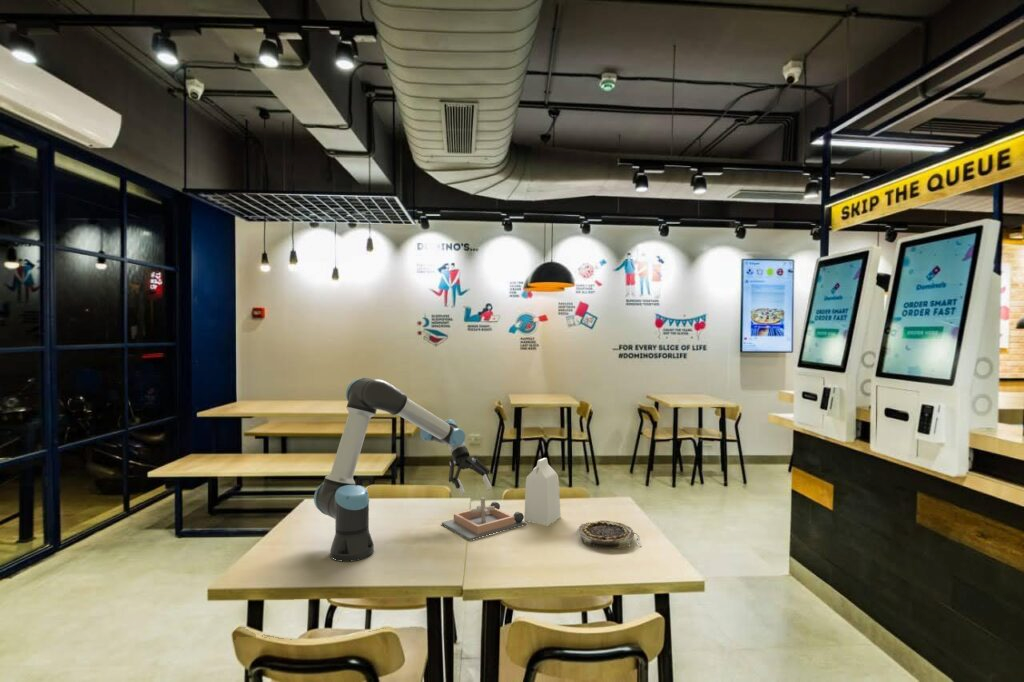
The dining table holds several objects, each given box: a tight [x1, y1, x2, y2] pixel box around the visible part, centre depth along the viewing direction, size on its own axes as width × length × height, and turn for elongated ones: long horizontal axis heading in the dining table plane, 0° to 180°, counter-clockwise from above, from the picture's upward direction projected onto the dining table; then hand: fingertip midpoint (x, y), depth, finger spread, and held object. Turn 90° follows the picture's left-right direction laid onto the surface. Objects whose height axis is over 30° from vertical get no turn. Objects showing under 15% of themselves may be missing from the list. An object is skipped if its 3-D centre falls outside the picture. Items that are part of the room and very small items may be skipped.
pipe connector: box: [470, 497, 495, 523], centre depth 213 cm, size 10×10×10 cm
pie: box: [577, 520, 642, 549], centre depth 197 cm, size 28×27×5 cm
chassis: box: [441, 501, 527, 541], centre depth 212 cm, size 28×22×5 cm
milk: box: [523, 457, 562, 527], centre depth 219 cm, size 12×12×26 cm
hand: (476, 491), depth 217 cm, fingers open, 13 cm apart
